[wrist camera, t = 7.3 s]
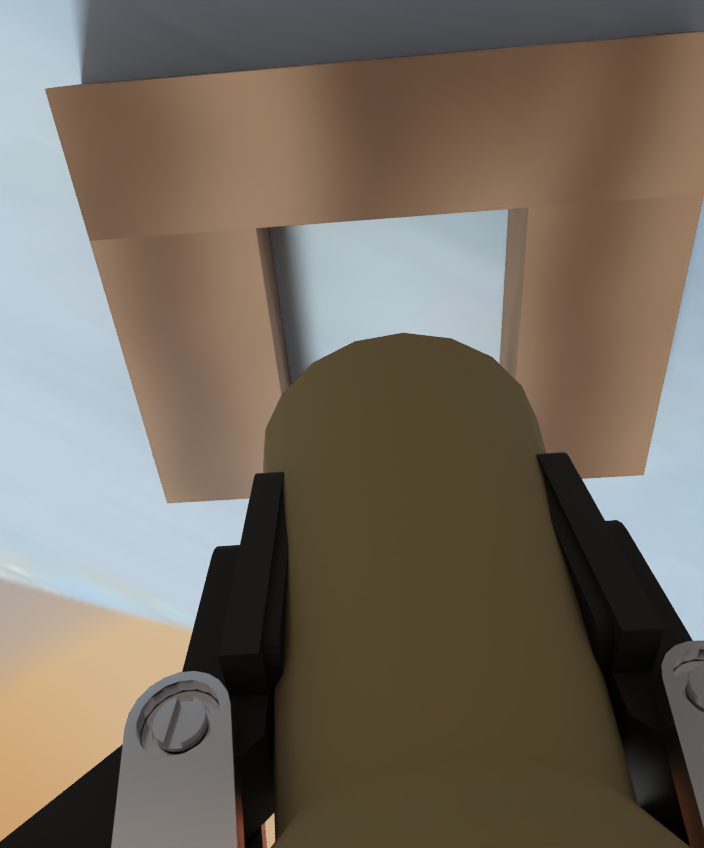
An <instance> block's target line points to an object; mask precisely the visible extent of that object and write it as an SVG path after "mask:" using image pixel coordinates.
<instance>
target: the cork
mask: <svg viewBox="0 0 704 848" xmlns="http://www.w3.org/2000/svg"><path fill="white" fill-rule="evenodd" d="M544 453H546V450H545V446H544V443H543V439H542V435H541V431H540V427H539V423H538V420H537V418H536V416H535V413H534V411H533V409H532V407H531V405H530V402H529V400H528V398H527V396H526V393H525V391H524V389H523V387H522V385H521V384H520V383H519V382H517V381H516V380H515V379H514V378H513V377H512V376H511V375H510V374H509V373H508V372H507V371H506V370H505V369H504V368H503V367H502V366H501V365H500V364H499V363H498V362H497V361H496V360H495V359H494V358H493V357H491V356H489V355H486V354H484V353H482V352H480V351H478V350H475V349H473V348H471V347H469V346H467V345H464V344H462V343H460V342H458V341H456V340H453V339H451V338H443V337H434V336H426V335H417V334H408V333H400V334H394V335H388V336H383V337H377V338H372V339H366V340H360V341H355V342H353V343H351V344H349V345H347V346H345V347H343V348H341V349H339V350H337V351H335V352H333V353H331V354H329V355H327V356H325V357H323V358H321V359H319V360H317V361H316V362H314V363H312V364H311V365H310V366H309V367H308V368H307V369H306V370H305V371H304V372H303V373H302V374H301V375H300V376H299V377H298V378H297V379H296V380H295V381H294V382H293V383H292V384H291V385H290V386H289V387H288V388H287V389H286V390H285V391H284V392H283V393H282V395H281V397H280V399H279V401H278V403H277V406H276V408H275V410H274V412H273V414H272V416H271V418H270V420H269V422H268V425H267V427H266V429H265V442H264V457H263V473H269V472H284V476H283V498H284V508H285V517H286V527H287V536H288V567H287V589H286V611H285V632H284V654H283V675H282V677H281V678H280V680H279V681H278V683H277V684H276V686H275V689H274V698H273V784H274V815H275V843H274V844H273V845H272V847H271V848H691V847H689V846H688V845H687V844H686V843H684V842H683V841H682V840H681V839H679V838H678V837H677V836H676V835H674V834H673V833H672V832H671V831H669V830H668V829H667V828H666V827H664V826H663V825H662V824H661V823H659V822H658V821H657V820H656V819H654V818H653V817H652V816H651V815H649V814H648V813H647V812H646V811H644V810H643V809H642V808H641V807H639V806H638V802H637V798H636V794H635V791H634V787H633V783H632V779H631V775H630V772H629V768H628V764H627V760H626V756H625V752H624V749H623V745H622V741H621V737H620V733H619V729H618V726H617V722H616V718H615V714H614V710H613V706H612V703H611V699H610V695H609V691H608V687H607V684H606V680H605V677H604V675H603V673H602V671H601V669H600V667H599V665H598V663H597V661H596V659H595V657H594V654H593V650H592V647H591V644H590V640H589V637H588V633H587V630H586V627H585V623H584V620H583V617H582V613H581V610H580V606H579V603H578V600H577V596H576V593H575V590H574V586H573V583H572V580H571V577H570V574H569V571H568V568H567V565H566V562H565V559H564V556H563V554H562V551H561V548H560V545H559V542H558V539H557V536H556V533H555V530H554V527H553V524H552V521H551V517H550V511H549V506H548V500H547V494H546V489H545V483H544V477H543V472H542V469H541V467H540V464H539V461H538V458H537V455H536V454H544Z"/></svg>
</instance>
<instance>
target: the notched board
mask: <svg viewBox="0 0 704 848" xmlns="http://www.w3.org/2000/svg"><path fill="white" fill-rule="evenodd" d="M45 91H46V94H47V98H48V101H49V104H50V108H51V111H52V114H53V118H54V121H55V125H56V128H57V131H58V135H59V138H60V142H61V145H62V148H63V152H64V155H65V159H66V162H67V165H68V169H69V172H70V175H71V179H72V182H73V186H74V189H75V192H76V196H77V199H78V203H79V206H80V209H81V213H82V216H83V220H84V223H85V226H86V230H87V233H88V236H89V240H90V243H91V247H92V250H93V253H94V257H95V260H96V264H97V267H98V270H99V274H100V277H101V281H102V284H103V287H104V291H105V294H106V297H107V301H108V304H109V308H110V311H111V314H112V318H113V321H114V325H115V328H116V331H117V335H118V338H119V342H120V345H121V348H122V352H123V355H124V358H125V362H126V365H127V369H128V372H129V375H130V379H131V382H132V386H133V389H134V392H135V396H136V399H137V403H138V406H139V409H140V413H141V416H142V419H143V423H144V426H145V430H146V433H147V436H148V440H149V443H150V447H151V450H152V453H153V457H154V460H155V464H156V467H157V470H158V474H159V477H160V480H161V484H162V487H163V491H164V494H165V497H166V501H167V503H179V502H196V501H213V500H230V499H247V498H250V494H251V489H252V484H253V480H254V476H255V474H256V473H263V457H264V442H265V429H266V427H267V425H268V422H269V420H270V418H271V416H272V414H273V412H274V410H275V408H276V406H277V403H278V401H279V399H280V397H281V395H282V393H283V392H284V391H285V390H286V389H287V388H288V387H289V386H290V385H291V382H290V375H289V368H288V361H287V354H286V347H285V340H284V333H283V326H282V319H281V312H280V305H279V298H278V291H277V284H276V277H275V270H274V263H273V256H272V249H271V242H270V235H269V228H268V227H279V226H292V225H305V224H318V223H331V222H344V221H357V220H370V219H384V218H397V217H410V216H423V215H436V214H449V213H462V212H475V211H488V210H501V209H509V211H508V229H507V246H506V264H505V281H504V299H503V316H502V333H501V351H500V365H501V366H502V367H503V368H504V369H505V370H506V371H507V372H508V373H509V374H510V375H511V376H512V377H513V378H514V379H515V380H516V381H517V382H519V383H520V384H521V385H522V387H523V389H524V391H525V393H526V396H527V398H528V400H529V402H530V405H531V407H532V409H533V411H534V413H535V416H536V418H537V420H538V423H539V427H540V431H541V435H542V439H543V443H544V446H545V450H546V453H559V452H565V453H567V454H568V456H569V457H570V459H571V461H572V463H573V464H574V466H575V468H576V470H577V472H578V473H579V475H580V477H581V479H584V478H601V477H618V476H635V475H644V470H645V466H646V461H647V457H648V452H649V447H650V443H651V438H652V433H653V429H654V424H655V419H656V415H657V410H658V406H659V401H660V396H661V392H662V387H663V382H664V378H665V373H666V368H667V364H668V359H669V354H670V350H671V345H672V341H673V336H674V331H675V327H676V322H677V317H678V313H679V308H680V303H681V299H682V294H683V289H684V285H685V280H686V276H687V271H688V266H689V262H690V257H691V252H692V248H693V243H694V238H695V234H696V229H697V224H698V220H699V215H700V211H701V206H702V201H703V197H704V31H692V32H681V33H669V34H657V35H646V36H634V37H623V38H611V39H599V40H588V41H576V42H565V43H553V44H542V45H530V46H518V47H507V48H495V49H484V50H472V51H460V52H449V53H437V54H426V55H414V56H403V57H391V58H379V59H368V60H356V61H345V62H333V63H321V64H310V65H298V66H287V67H275V68H264V69H252V70H240V71H229V72H217V73H206V74H194V75H183V76H171V77H159V78H148V79H136V80H125V81H113V82H101V83H90V84H79V85H71V86H63V87H55V88H47V89H45Z"/></svg>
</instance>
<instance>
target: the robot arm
mask: <svg viewBox="0 0 704 848" xmlns="http://www.w3.org/2000/svg"><path fill="white" fill-rule="evenodd" d="M536 455H537V458H538V461H539V464H540V467H541V469H542V472H543V477H544V483H545V489H546V494H547V500H548V506H549V511H550V517H551V521H552V524H553V527H554V530H555V533H556V536H557V539H558V542H559V545H560V548H561V551H562V554H563V556H564V559H565V562H566V565H567V568H568V571H569V574H570V577H571V580H572V583H573V586H574V590H575V593H576V596H577V600H578V603H579V606H580V610H581V613H582V617H583V620H584V623H585V627H586V630H587V633H588V637H589V640H590V644H591V647H592V650H593V654H594V657H595V659H596V661H597V663H598V665H599V667H600V669H601V671H602V673H603V675H604V677H605V680H606V684H607V687H608V691H609V695H610V699H611V703H612V706H613V710H614V714H615V718H616V722H617V726H618V729H619V733H620V737H621V741H622V745H623V749H624V752H625V756H626V760H627V764H628V768H629V772H630V775H631V779H632V783H633V787H634V791H635V794H636V798H637V802H638V806H639V807H641V808H642V809H643V810H644V811H646V812H647V813H648V814H649V815H651V816H652V817H653V818H654V819H656V820H657V821H658V822H659V823H661V824H662V825H663V826H664V827H666V828H667V829H668V830H669V831H671V832H672V833H673V834H674V835H676V836H677V837H678V838H679V839H681V840H682V841H683V842H684V843H686V844H687V845H688V846H689V847H691V848H704V641H693V640H692V639H691V637H690V635H689V634H688V632H687V630H686V629H685V627H684V625H683V623H682V622H681V620H680V618H679V617H678V615H677V613H676V612H675V610H674V608H673V607H672V605H671V603H670V601H669V600H668V598H667V596H666V595H665V593H664V591H663V590H662V588H661V586H660V585H659V583H658V581H657V580H656V578H655V576H654V574H653V573H652V571H651V569H650V568H649V566H648V564H647V563H646V561H645V559H644V558H643V556H642V554H641V553H640V551H639V549H638V547H637V546H636V544H635V542H634V541H633V539H632V537H631V536H630V534H629V532H628V531H627V529H626V528H625V526H624V525H623V524H622V523H621V522H619V521H618V520H613V521H605V520H604V518H603V517H602V515H601V513H600V511H599V509H598V508H597V506H596V504H595V502H594V500H593V499H592V497H591V495H590V493H589V491H588V490H587V488H586V486H585V484H584V482H583V481H582V479H581V477H580V475H579V473H578V472H577V470H576V468H575V466H574V464H573V463H572V461H571V459H570V457H569V456H568V454H567V453H565V452H559V453H544V454H536ZM283 476H284V472H269V473H256V474H255V476H254V480H253V484H252V489H251V494H250V499H249V504H248V509H247V514H246V519H245V524H244V529H243V533H242V538H241V543H240V545H234V546H219V547H216V548H215V549H214V552H213V554H212V558H211V561H210V565H209V569H208V573H207V577H206V581H205V585H204V589H203V593H202V597H201V601H200V605H199V608H198V612H197V616H196V620H195V624H194V628H193V632H192V636H191V640H190V644H189V648H188V652H187V656H186V660H185V664H184V667H183V671H182V672H179V673H177V674H174V675H171V676H168V677H165V678H163V679H162V680H160V681H158V682H157V683H155V684H154V685H152V686H151V687H149V688H148V690H146V691H145V692H144V693H143V694H142V695H141V696H140V697H139V698H138V700H137V701H136V703H135V704H134V706H133V708H132V709H131V711H130V712H129V715H128V718H127V722H126V725H125V730H124V738H123V745H121V746H120V747H119V748H118V749H116V750H115V751H114V752H113V753H111V754H110V755H109V756H108V757H106V758H105V759H104V760H103V761H102V762H100V763H99V764H97V765H96V766H95V767H94V768H92V769H91V770H90V771H89V772H87V773H86V774H85V775H84V776H82V777H81V778H80V779H79V780H77V781H76V782H75V783H74V784H72V785H71V786H70V787H68V788H67V789H66V790H65V791H63V792H62V793H61V794H60V795H58V796H57V797H56V798H55V799H54V800H52V801H51V802H50V803H49V804H47V805H46V806H45V807H43V808H42V809H41V810H40V811H38V812H37V813H36V814H35V815H33V816H32V817H31V818H30V819H28V820H27V821H26V822H25V823H23V824H22V825H21V826H19V827H18V828H17V829H16V830H14V831H13V832H12V833H11V834H9V835H8V836H7V837H6V838H4V839H3V840H2V841H1V842H0V848H267V841H266V830H265V821H267V819H268V818H269V817H270V816H271V815H272V814H273V813H274V784H273V698H274V689H275V686H276V684H277V683H278V681H279V680H280V678H281V677H282V675H283V654H284V632H285V611H286V589H287V567H288V536H287V527H286V517H285V508H284V498H283Z"/></svg>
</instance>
